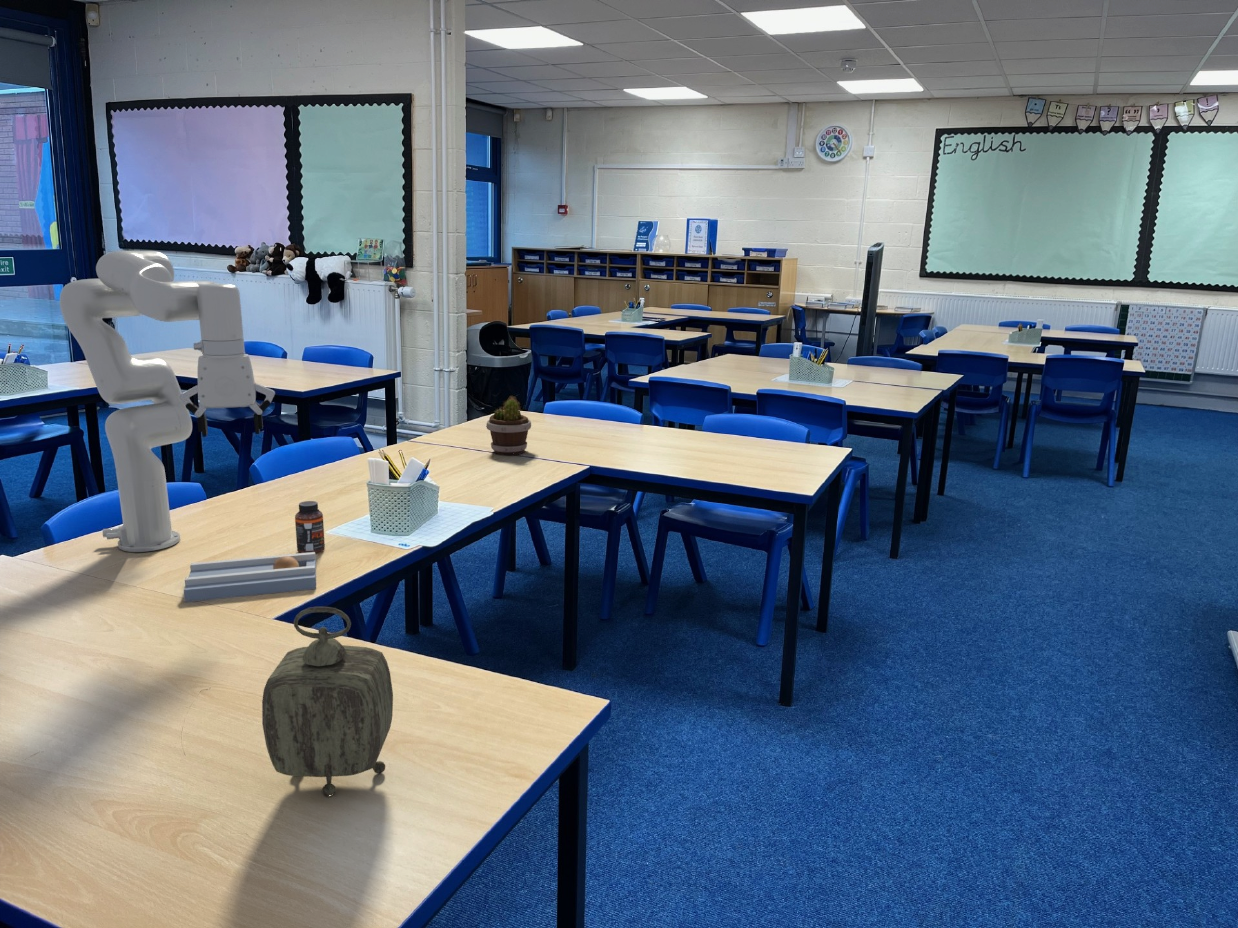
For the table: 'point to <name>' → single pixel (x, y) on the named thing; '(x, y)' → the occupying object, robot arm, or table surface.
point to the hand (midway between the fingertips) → (231, 434)
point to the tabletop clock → (327, 707)
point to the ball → (285, 563)
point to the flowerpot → (509, 429)
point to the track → (248, 577)
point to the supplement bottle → (309, 528)
